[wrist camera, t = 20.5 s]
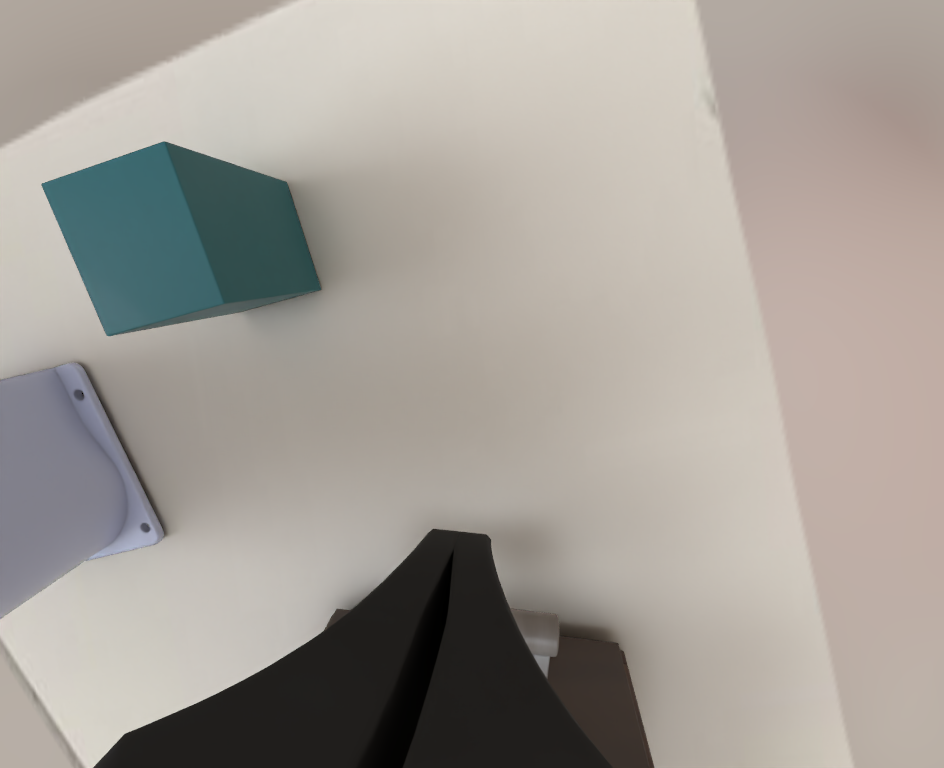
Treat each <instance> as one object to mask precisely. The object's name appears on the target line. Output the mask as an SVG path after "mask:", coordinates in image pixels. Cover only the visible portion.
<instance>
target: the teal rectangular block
mask: <svg viewBox="0 0 944 768" xmlns="http://www.w3.org/2000/svg"><path fill="white" fill-rule="evenodd" d="M42 187H43V190H44V192H45V194H46V197H47V199H48V201H49V203H50V206H51V208H52V210H53V213H54V215H55V217H56V220H57V222H58V224H59V227H60V229H61V231H62V234H63V236H64V238H65V240H66V243H67V245H68V247H69V250H70V252H71V254H72V257H73V259H74V261H75V264H76V266H77V268H78V270H79V273H80V275H81V277H82V280H83V282H84V284H85V287H86V289H87V291H88V294H89V296H90V298H91V301H92V303H93V305H94V307H95V310H96V312H97V314H98V317H99V319H100V321H101V324H102V326H103V328H104V331H105V333H106V335H107V336H113V335H118V334H124V333H129V332H135V331H140V330H146V329H151V328H156V327H162V326H167V325H173V324H178V323H184V322H189V321H195V320H200V319H205V318H211V317H216V316H222V315H227V314H233V313H238V312H242V311H246V310H249V309H253V308H257V307H260V306H264V305H268V304H271V303H275V302H279V301H282V300H286V299H290V298H293V297H297V296H301V295H304V294H308V293H312V292H315V291H319V290H321V287H320V284H319V281H318V277H317V274H316V271H315V268H314V265H313V262H312V259H311V256H310V253H309V250H308V246H307V243H306V240H305V237H304V234H303V231H302V228H301V225H300V222H299V219H298V216H297V212H296V209H295V206H294V203H293V200H292V197H291V194H290V191H289V188H288V185H287V182H285V181H282V180H279V179H276V178H273V177H270V176H267V175H264V174H261V173H258V172H255V171H252V170H249V169H246V168H243V167H240V166H237V165H234V164H231V163H228V162H225V161H222V160H219V159H216V158H213V157H210V156H207V155H204V154H201V153H198V152H195V151H192V150H189V149H186V148H183V147H180V146H177V145H174V144H171V143H168V142H161V143H158V144H155V145H152V146H149V147H146V148H144V149H141V150H138V151H135V152H132V153H129V154H126V155H123V156H120V157H118V158H115V159H112V160H109V161H106V162H103V163H100V164H97V165H94V166H92V167H89V168H86V169H83V170H80V171H77V172H74V173H71V174H68V175H66V176H63V177H60V178H57V179H54V180H51V181H48V182H45V183H42Z"/></svg>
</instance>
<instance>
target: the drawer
mask: <svg viewBox="0 0 944 768" xmlns="http://www.w3.org/2000/svg"><path fill="white" fill-rule="evenodd" d="M510 610H511V612H512V614H513V617H514V619H515V621H516V623H517V625H518V628H519V630H520V632H521V634H522V636H523V638H524V640H525V642H526V643H527V645H528V647H529V649H530V651H531V653H532V654H533V656H534V658H535V660H536V661H537V663H538V665H539V667H540V668H541V670H542V671H543V673H544V675H545V676H546V678H547V680H548V681H549V683H550V684H551V686H552V688H553V689H554V691H555V692H556V693H557V695H558V696H559V698H560V699H561V700H562V702H563V703H564V705H565V706H566V707H567V709H568V710H569V711H570V713H571V714H572V716H573V717H574V718H575V720H576V721H577V723H578V724H579V725H580V727H581V728H582V730H583V731H584V732H585V734H586V735H587V736H588V737H589V739H590V740H591V741H592V742H593V744H594V745H595V746H596V747H597V748H598V750H599V751H600V752H601V753H602V755H603V756H604V757H605V758H606V760H607V761H608V762H609V763H610V764H611V766H612V767H613V768H650V767H649V763H648V759H647V755H646V751H645V747H644V743H643V739H642V735H641V731H640V727H639V723H638V719H637V715H636V711H635V707H634V704H633V700H632V696H631V692H630V688H629V684H628V680H627V676H626V672H625V668H624V664H623V660H622V656H621V652H620V648H619V644H618V643H613V642H604V641H596V640H588V639H580V638H572V637H563V636H559V618H558V615H556V614H551V613H543V612H534V611H526V610H517V609H510ZM349 611H351V610H343V609H336V611H335V613H334V615H333V617H332V619H331V620H330V622H329V624H328V626H327V628H329V627H330V626H331V625H333V624H334V623H335V622H337V621H338V620H339V619H341V618H342V617H343V616H344V615H346V614H347V613H348V612H349ZM327 628H326V629H327Z"/></svg>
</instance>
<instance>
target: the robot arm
mask: <svg viewBox="0 0 944 768" xmlns="http://www.w3.org/2000/svg"><path fill="white" fill-rule="evenodd" d="M81 391H82V392H83V393H84V396H83V395H82V393H81ZM147 524H148V525H149V526H150V527H148V525H147ZM163 538H164V531H163V529H162V527H161V525H160V523H159V521H158V519H157V517H156V515H155V513H154V511H153V509H152V506H151V504H150V502H149V500H148V498H147V496H146V494H145V492H144V490H143V488H142V486H141V484H140V482H139V480H138V478H137V476H136V474H135V472H134V470H133V468H132V466H131V464H130V462H129V460H128V458H127V456H126V454H125V452H124V449H123V447H122V445H121V443H120V441H119V439H118V437H117V435H116V433H115V431H114V429H113V427H112V425H111V423H110V421H109V419H108V417H107V415H106V413H105V411H104V409H103V407H102V405H101V403H100V401H99V399H98V397H97V394H96V392H95V390H94V388H93V386H92V384H91V382H90V380H89V378H88V376H87V374H86V372H85V370H84V369H83V367H82V366H81V365H79V364H77V363H68V364H64V365H61V366H58V367H54V368H51V369H46V370H42V371H37V372H33V373H29V374H24V375H20V376H16V377H11V378H7V379H2V380H0V619H1V618H3V617H4V616H6V615H7V614H8V613H10V612H11V611H13V610H14V609H16V608H17V607H19V606H20V605H22V604H23V603H24V602H26V601H27V600H29V599H30V598H32V597H33V596H35V595H36V594H38V593H39V592H40V591H42V590H43V589H45V588H46V587H48V586H49V585H51V584H52V583H54V582H55V581H56V580H58V579H59V578H61V577H62V576H64V575H65V574H67V573H68V572H70V571H71V570H72V569H74V568H75V567H77V566H78V565H80V564H81V563H83V562H84V561H88V560H92V559H96V558H100V557H105V556H109V555H113V554H117V553H121V552H126V551H130V550H134V549H138V548H142V547H147V546H151V545H155V544H157V543H158V542H160V541H161V540H162V539H163ZM94 768H613V767H612V766H611V764H610V763H609V762H608V761H607V760H606V758H605V757H604V756H603V755H602V753H601V752H600V751H599V750H598V748H597V747H596V746H595V745H594V744H593V742H592V741H591V740H590V739H589V737H588V736H587V735H586V734H585V732H584V731H583V730H582V728H581V727H580V725H579V724H578V723H577V721H576V720H575V718H574V717H573V716H572V714H571V713H570V711H569V710H568V709H567V707H566V706H565V705H564V703H563V702H562V700H561V699H560V698H559V696H558V695H557V693H556V692H555V691H554V689H553V688H552V686H551V684H550V683H549V681H548V680H547V678H546V676H545V675H544V673H543V671H542V670H541V668H540V667H539V665H538V663H537V661H536V660H535V658H534V656H533V654H532V653H531V651H530V649H529V647H528V645H527V643H526V642H525V640H524V638H523V636H522V634H521V632H520V630H519V628H518V625H517V623H516V621H515V619H514V617H513V614H512V612H511V610H510V607H509V605H508V603H507V600H506V598H505V595H504V592H503V589H502V587H501V584H500V581H499V578H498V575H497V572H496V568H495V564H494V560H493V556H492V550H491V539H490V538H489V537H488V536H487V535H486V534H477V533H467V532H458V531H448V530H439V529H433V530H431V531H430V532H429V533H428V534H427V535H426V536H425V538H424V539H423V540H422V541H421V542H420V543H419V545H418V546H417V547H416V548H415V549H414V550H413V551H412V552H411V554H410V555H409V556H408V557H407V558H406V559H405V560H404V561H403V562H402V563H401V564H400V565H399V566H398V567H397V568H396V569H395V570H394V571H393V572H392V573H391V574H390V575H389V576H388V577H387V578H386V579H385V580H384V581H383V582H382V583H381V584H380V585H379V586H378V587H377V588H376V589H375V590H373V591H372V592H371V593H370V594H369V595H368V596H367V597H366V598H364V599H363V600H362V601H361V602H360V603H359V604H358V605H357V606H355V607H354V608H353V609H352V610H351V611H349V612H348V613H347V614H346V615H344V616H343V617H342V618H341V619H339V620H338V621H337V622H335V623H334V624H333V625H331V626H330V627H329V628H327V629H326V630H325V631H323V632H322V633H321V634H319V635H318V636H316V637H315V638H313V639H312V640H310V641H309V642H307V643H306V644H304V645H302V646H301V647H299V648H298V649H296V650H294V651H293V652H291V653H290V654H288V655H286V656H285V657H283V658H282V659H280V660H278V661H277V662H275V663H274V664H272V665H270V666H268V667H267V668H265V669H263V670H261V671H259V672H258V673H256V674H254V675H252V676H250V677H248V678H247V679H245V680H243V681H241V682H239V683H237V684H235V685H233V686H231V687H229V688H227V689H225V690H223V691H221V692H219V693H217V694H215V695H213V696H211V697H209V698H207V699H205V700H203V701H201V702H198V703H196V704H194V705H192V706H189V707H187V708H185V709H182V710H180V711H178V712H176V713H173V714H171V715H169V716H166V717H164V718H162V719H159V720H157V721H155V722H152V723H150V724H148V725H146V726H143V727H141V728H138V729H136V730H133V731H131V732H128V733H126V734H124V735H123V736H122V737H121V739H120V740H119V741H118V742H117V743H116V744H115V745H114V746H113V747H112V748H111V749H110V750H109V751H108V753H107V754H106V755H105V756H104V757H103V758H102V759H101V760H100V761H99V762H98V763H97V764H96V765H95V766H94Z"/></svg>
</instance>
